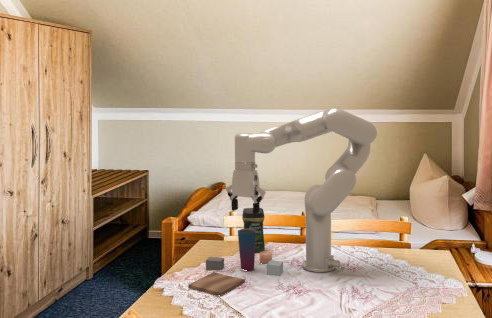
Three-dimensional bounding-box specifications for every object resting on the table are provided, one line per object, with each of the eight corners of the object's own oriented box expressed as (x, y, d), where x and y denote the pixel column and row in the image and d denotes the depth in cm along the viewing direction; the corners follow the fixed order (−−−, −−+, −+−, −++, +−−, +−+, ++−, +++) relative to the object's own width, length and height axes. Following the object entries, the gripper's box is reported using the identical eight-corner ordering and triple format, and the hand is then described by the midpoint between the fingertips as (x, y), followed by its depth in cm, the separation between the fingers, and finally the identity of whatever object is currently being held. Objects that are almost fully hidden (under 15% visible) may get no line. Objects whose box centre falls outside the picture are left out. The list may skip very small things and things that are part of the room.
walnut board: (244, 282, 166) (244, 279, 165) (220, 296, 154) (220, 292, 154) (213, 275, 174) (213, 272, 173) (188, 287, 162) (188, 284, 162)
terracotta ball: (274, 262, 187) (274, 252, 187) (267, 265, 183) (267, 255, 183) (263, 260, 190) (263, 250, 189) (257, 263, 186) (257, 253, 185)
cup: (254, 272, 175) (253, 233, 174) (236, 271, 177) (235, 232, 175) (257, 266, 182) (257, 228, 180) (240, 265, 183) (239, 228, 182)
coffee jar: (243, 253, 199) (242, 210, 196) (242, 248, 206) (241, 206, 204) (266, 252, 199) (265, 209, 197) (264, 247, 207) (263, 205, 205)
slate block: (283, 271, 176) (283, 261, 176) (279, 276, 172) (279, 265, 171) (270, 270, 178) (270, 260, 178) (266, 274, 173) (266, 264, 173)
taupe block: (224, 267, 182) (223, 257, 181) (220, 271, 178) (220, 261, 178) (209, 266, 183) (209, 256, 183) (206, 270, 180) (205, 260, 179)
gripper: (270, 166, 173) (270, 212, 175) (232, 163, 183) (232, 207, 185) (259, 169, 167) (259, 216, 169) (220, 166, 177) (220, 210, 179)
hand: (245, 211), depth 177 cm, fingers open, 9 cm apart
